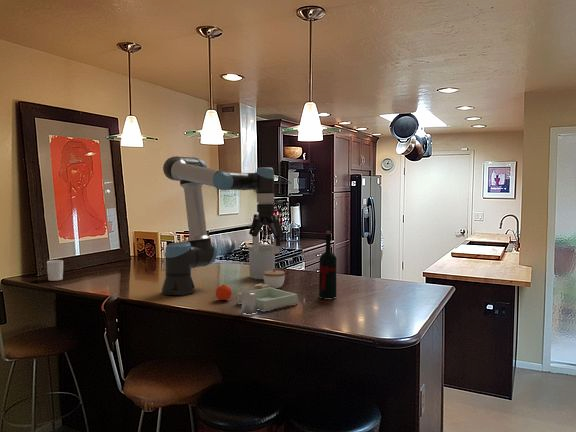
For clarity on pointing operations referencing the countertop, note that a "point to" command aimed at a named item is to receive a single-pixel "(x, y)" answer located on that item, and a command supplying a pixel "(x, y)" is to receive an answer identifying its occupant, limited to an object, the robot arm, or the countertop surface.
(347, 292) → the countertop surface
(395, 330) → the countertop surface
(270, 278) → the lidded jar
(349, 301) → the countertop surface
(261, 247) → the utensil holder
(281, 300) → the sage tray
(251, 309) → the metal can
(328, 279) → the wine bottle
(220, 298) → the clementine
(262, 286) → the wood block
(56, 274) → the white cup
